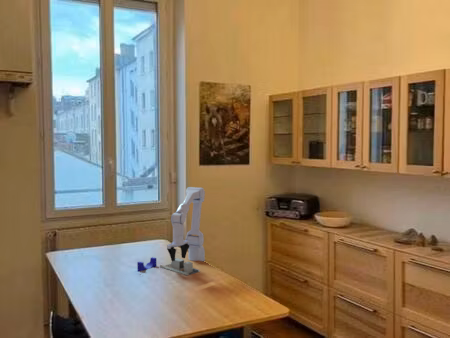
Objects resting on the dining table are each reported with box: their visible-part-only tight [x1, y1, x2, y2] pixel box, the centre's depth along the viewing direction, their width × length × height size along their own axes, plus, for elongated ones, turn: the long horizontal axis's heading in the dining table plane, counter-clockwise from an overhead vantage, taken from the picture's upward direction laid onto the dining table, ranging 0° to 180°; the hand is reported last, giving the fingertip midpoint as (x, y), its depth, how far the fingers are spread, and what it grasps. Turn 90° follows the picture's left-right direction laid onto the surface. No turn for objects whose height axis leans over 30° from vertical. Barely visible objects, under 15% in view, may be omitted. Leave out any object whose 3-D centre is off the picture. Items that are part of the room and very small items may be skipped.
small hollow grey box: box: [184, 261, 194, 273], centre depth 250 cm, size 4×3×5 cm
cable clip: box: [136, 256, 157, 273], centre depth 257 cm, size 12×4×6 cm, turn 147°
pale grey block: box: [171, 257, 185, 270], centre depth 255 cm, size 4×6×5 cm, turn 48°
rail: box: [159, 261, 201, 277], centre depth 255 cm, size 10×22×2 cm, turn 48°
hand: (178, 259), depth 255 cm, fingers open, 7 cm apart
